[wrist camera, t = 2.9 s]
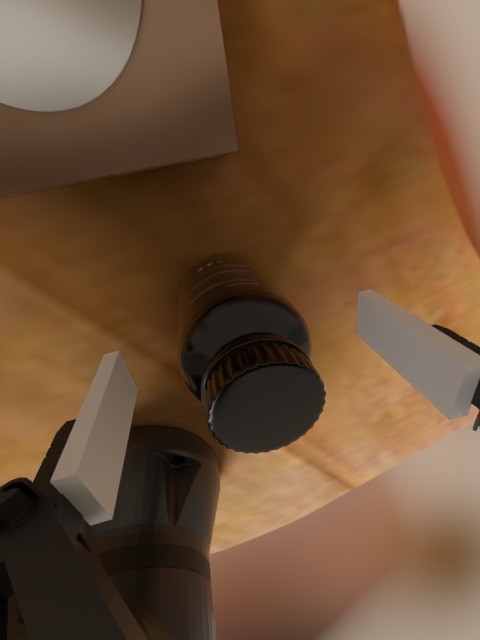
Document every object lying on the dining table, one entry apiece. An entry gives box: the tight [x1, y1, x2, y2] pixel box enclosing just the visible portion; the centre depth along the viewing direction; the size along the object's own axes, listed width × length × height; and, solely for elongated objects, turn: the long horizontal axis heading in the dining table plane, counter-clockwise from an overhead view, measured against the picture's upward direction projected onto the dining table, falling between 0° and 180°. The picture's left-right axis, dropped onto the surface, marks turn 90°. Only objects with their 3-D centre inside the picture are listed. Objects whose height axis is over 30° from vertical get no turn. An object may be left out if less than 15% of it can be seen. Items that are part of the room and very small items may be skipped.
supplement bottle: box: [178, 255, 326, 454], centre depth 16 cm, size 7×7×12 cm
